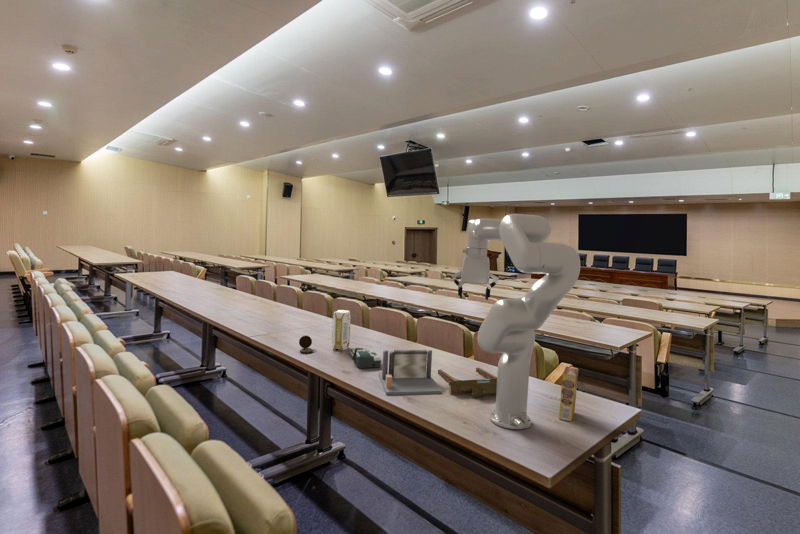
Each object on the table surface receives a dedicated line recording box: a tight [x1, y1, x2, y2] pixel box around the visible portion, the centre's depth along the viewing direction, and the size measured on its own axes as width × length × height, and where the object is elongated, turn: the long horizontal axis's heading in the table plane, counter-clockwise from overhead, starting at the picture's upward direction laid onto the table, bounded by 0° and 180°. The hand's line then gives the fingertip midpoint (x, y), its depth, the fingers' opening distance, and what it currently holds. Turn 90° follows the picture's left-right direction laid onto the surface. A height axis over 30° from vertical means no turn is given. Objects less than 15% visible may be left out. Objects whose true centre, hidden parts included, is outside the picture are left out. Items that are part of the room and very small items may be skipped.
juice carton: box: [331, 309, 352, 351], centre depth 202 cm, size 8×9×19 cm
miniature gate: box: [437, 367, 497, 399], centre depth 158 cm, size 27×6×30 cm
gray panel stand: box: [378, 349, 443, 396], centre depth 156 cm, size 22×20×12 cm
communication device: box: [349, 347, 382, 369], centre depth 184 cm, size 12×24×9 cm, turn 16°
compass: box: [298, 334, 317, 354], centre depth 195 cm, size 8×8×7 cm
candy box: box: [558, 366, 579, 422], centre depth 132 cm, size 9×4×15 cm, turn 151°
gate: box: [388, 349, 428, 378], centre depth 159 cm, size 15×2×11 cm, turn 100°
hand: (473, 298), depth 151 cm, fingers open, 9 cm apart
